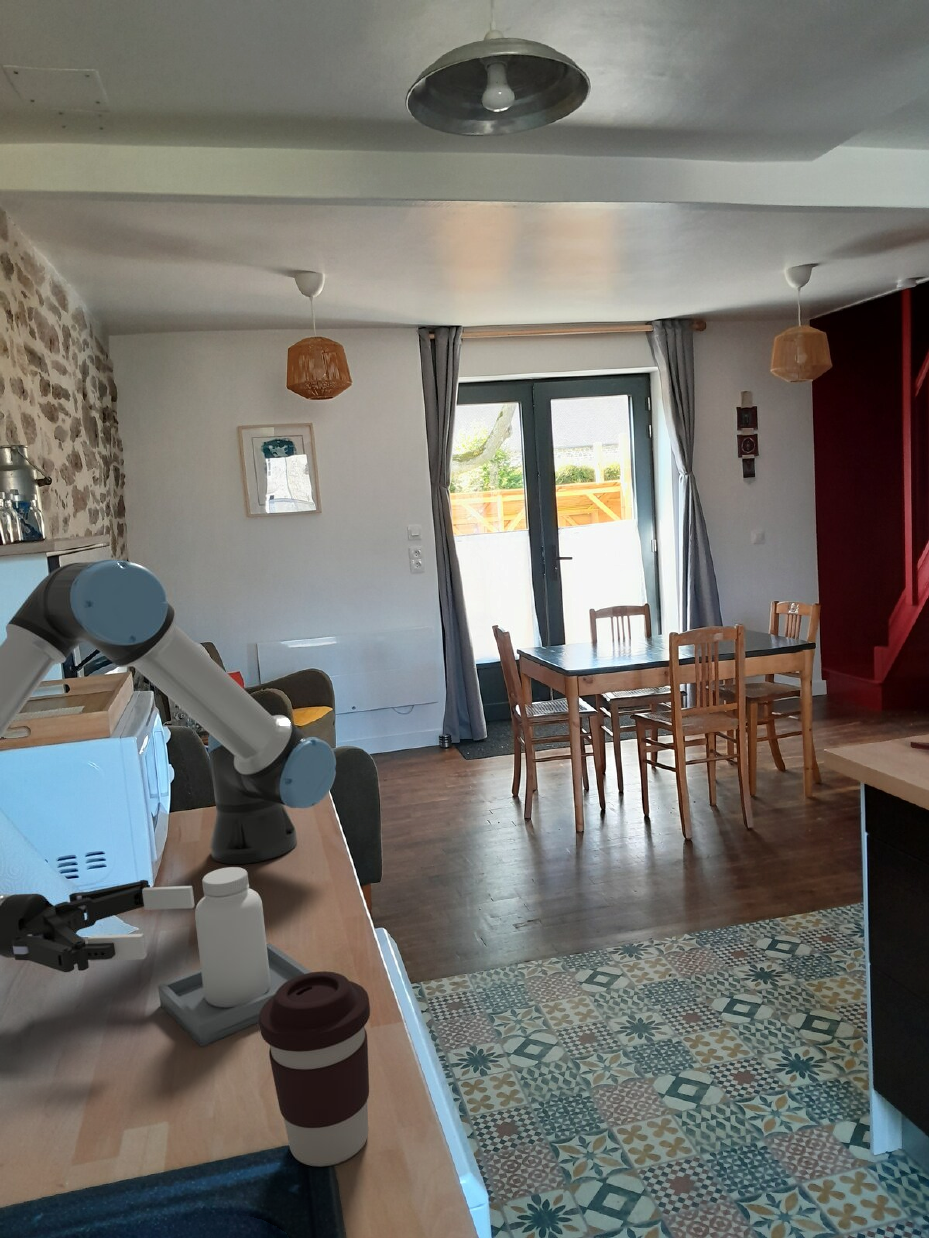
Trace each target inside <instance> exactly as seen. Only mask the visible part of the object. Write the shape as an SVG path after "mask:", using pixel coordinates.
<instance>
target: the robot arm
mask: <svg viewBox="0 0 929 1238" xmlns="http://www.w3.org/2000/svg"><path fill="white" fill-rule="evenodd" d="M166 597H167V593H166V590H165V588H164V586H163V583H161V581H160V579H159V578H158V577H157V575H155V574H154V573H153V572H152V571H151V570H149V569H148V568H147V567H145V566H142V565H141V564H138V563H135V562H131V561H127V560H122V559H114V558H113V559H103V560H99V561H90V562H89V561H88V562H73V563H67V564H65V565H62V566H60V567H58V568H56V569H55V570H53V571H51V572H50V573H48V575H46V576H45V578H43V579H42V580H41V581H40V582H39V583H38V585H37V586H36V587H35V588H34V589H33V591H31V593H30V594H29V595H28V597H27V598H26V599H25V600H24V602H23V603H22V604H21V606H20V607H19V608H18V610H17V611H16V613H15V614H14V615H13V616H12V618H11V619H10V620H9V621H8V623H7V625H6V626H5V631H6V638H5V640H3V642H2V643H1V645H0V739H1V738H2V737H3V736H4V734H5V733H6V731H7V730H8V728H9V726H11V724H12V723H13V721H14V720H15V719H16V717H17V716H18V714H19V713H20V712H21V711H22V709H23V708H24V706H25V705H26V704H27V702H28V701H29V700H30V698H31V697H32V695H33V694H34V692H35V691H36V690H37V689H38V687H40V684H41V683H42V681H43V680H44V679H45V678H46V676H47V675H48V673H50V671H51V669H52V668H53V667H54V666H55V665H57V664H58V665H59V664H62V663H63V664H64V663H65V662H66V661H67V660H68V657H69V656H70V655H71V654H72V653H73V652H74V650H75V649H76V648H77V647H79V646H80V645H81V644H83V643H84V642H88V643H89V644H90V645H92V646H93V647H94V648H95V649H96V650H97V651H99V652H100V653H101V654H102V655H103V656H104V657H106V659H108V660H109V661H111V663H113V665H114V666H116V667H118V668H126V667H133V668H134V669H135V670H137V671H138V672H139V673H140V674H141V675H143V677H145V678H146V679H147V680H148V681H150V683H151V684H153V685H154V686H155V687H156V688H157V689H159V690H160V691H161V692H162V693H163V694H164V695H166V696H167V698H168V699H170V700H171V701H172V702H173V703H174V704H175V705H177V706H178V707H179V708H180V709H181V710H182V711H183V712H185V714H187V715H188V716H189V717H190V718H191V719H192V720H194V722H196V724H198V725H200V726H201V727H202V728H203V730H205V731H206V732H207V733H208V735H209V736H208V738H207V739H208V740H207V742H208V743H207V744H208V747H207V748H208V751H207V754H208V755H209V762H210V769H211V778H212V785H213V792H214V793H213V794H214V801H215V807H216V809H215V810H216V815H215V819H214V826H213V829H212V830H213V831H212V834H211V840H210V851H211V852H210V853H211V858H212V859H213V860H214V861H216V862H218V863H221V864H228V865H229V864H230V865H242V864H243V865H244V864H252V863H258V862H263V861H266V860H267V861H268V860H270V859H274V858H278V857H280V856H283V855H284V854H287V853H288V852H290V851H291V850H293V849H294V848H295V847H296V845H297V844H298V837H297V830H296V828H295V826H294V823H293V822H292V819H291V818H290V815H289V813H288V810H287V809H286V807H288V808H291V809H307V808H308V809H309V808H312V807H315V806H317V804H319V803H321V801H323V800H324V799H325V798H326V796H327V795H328V794H329V792H330V791H331V789H332V787H333V784H334V782H335V778H336V774H337V772H336V765H337V760H336V755H335V752H334V750H333V748H332V747H331V746H330V744H329V743H328V742H326V741H325V740H323V739H320V738H319V737H316V736H311V737H310V736H308V735H306V734H305V733H304V732H303V731H302V730H301V729H300V728H299V727H298V726H297V725H296V724H294V722H293V721H292V720H291V719H289V718H288V717H287V716H285V715H283V714H275V715H271V714H270V713H269V712H268V711H267V710H266V709H265V708H264V707H263V706H262V705H261V704H260V703H259V702H258V701H257V700H256V699H254V698H253V697H252V696H251V694H250V693H248V692H247V691H246V690H245V688H243V687H242V686H241V685H240V684H239V683H237V681H236V680H235V679H233V678H232V677H231V675H230V674H228V673H227V672H226V670H224V669H223V668H222V666H220V665H219V664H218V663H217V662H215V660H213V658H211V657H210V656H209V655H208V654H207V652H205V651H204V650H203V649H202V648H201V647H200V646H199V645H198V644H197V643H196V642H195V641H193V639H192V638H190V636H188V635H187V634H186V633H185V632H184V631H183V630H182V629H181V628H180V627H179V626H178V625H177V624H176V621H177V620H176V619H177V612H176V609H175V608H174V607H173V605H171V604H169V602H167V599H166ZM149 883H150V882H149V880H147V879H142V880H139V881H134V882H130V883H125V884H120V885H115V886H109V887H105V888H104V887H103V888H100V889H95V890H89V891H81V892H80V891H79V892H72V893H70V894H69V895H68V897H69V901H62V902H59V903H56V904H55V905H54V904H53V903H51V902H50V901H49V900H48V899H47V897H46V896H44V895H42V894H40V893H20V894H18V893H17V894H7V893H6V894H4V893H3V894H0V958H7V959H10V958H12V959H13V958H14V960H15V961H30V962H32V963H36V964H38V965H42V966H44V967H47V968H51V969H54V970H57V971H59V972H63V973H70V972H73V971H74V970H75V965H77V970H78V971H79V972H81V971H85V970H87V969H89V968H90V965H89V964H90V963H89V961H92V962H93V961H94V962H95V961H97V962H98V961H124V960H125V961H126V960H127V961H128V960H129V961H132V960H145V958H147V956H148V955H147V954H148V953H147V947H146V939H145V934H144V933H128V934H127V933H126V934H125V933H123V934H98V935H97V934H95V935H90V936H88V938H87V942H86V940H85V939H84V938H83V937H81V936H80V935H78V934H77V933H78V931H80V930H83V929H86V928H89V927H93V926H94V925H96V922H97V921H101V920H104V919H107V918H109V917H113V916H117V915H121V914H124V913H127V912H130V911H135V910H137V909H140V908H144V910H145V911H148V910H149V911H151V910H152V911H153V910H154V911H156V910H178V909H193V908H194V907H195V898H194V890H193V886H192V885H179V886H175V885H174V886H155V887H154V886H153V887H151V886H150V885H149ZM85 914H86V917H85Z"/></svg>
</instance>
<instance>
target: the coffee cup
mask: <svg viewBox="0 0 929 1238" xmlns="http://www.w3.org/2000/svg"><path fill="white" fill-rule="evenodd" d="M369 997H370V996H369V994H368V992H367V990H365V988H364V987H363V986H362V985H360V984H358V983H356V982H354V981H352V980H349V979H348V978H347V977H346V976H345V975H343V974H341V973H338V972H334V971H327V970H324V971H311V973H307V974H303V975H300V976H297V977H295V978H293V979H291V980H289V981H287V982H285V983H284V984H283V985H282V986H281V987H279V989H278V990H277V992H276V993H275V995H274V996H273V997H271V998H270V999H269V1000H268V1001H267V1002H266V1003H265V1004H264V1005H263V1007H262V1009H261V1011H260V1014H259V1022H258V1023H259V1032H260V1035H261V1037H262V1039H263V1040H264V1041H265V1043H267V1045H269V1052H268V1055H269V1056H268V1057H269V1060H270V1066H271V1072H272V1076H273V1082H274V1087H275V1092H276V1096H277V1097H276V1098H277V1101H278V1107H279V1112H280V1114H281V1116H282V1117H283V1120H284V1124H285V1131H286V1135H287V1141H288V1146H289V1150H290V1152H291V1154H292V1155H293V1157H294V1158H295V1159H296V1160H297V1161H298V1162H300V1163H302V1164H304V1165H307V1166H311V1167H328V1166H334V1165H337V1164H340V1163H342V1162H345V1161H347V1160H349V1159H351V1158H352V1157H353V1156H355V1155H356V1154H358V1153H359V1151H360V1150H361V1149H363V1147H364V1145H365V1144H366V1141H367V1139H368V1136H369V1114H368V1113H369V1111H368V1110H369V1109H368V1099H369V1095H370V1078H369V1076H370V1075H369V1074H370V1073H369V1048H368V1047H369V1045H368V1043H369V1042H368V1041H369V1040H368V1033H367V1029H366V1027H365V1026H366V1024H367V1023H368V1021H369V1019H370V1015H371V1006H370V1005H371V1004H370V998H369Z"/></svg>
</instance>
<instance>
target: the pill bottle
mask: <svg viewBox="0 0 929 1238" xmlns="http://www.w3.org/2000/svg"><path fill="white" fill-rule="evenodd" d="M248 876H249V874H248V871H247V870H246V869H245V868H242V867H238V866H236V867H235V866H230V867H222V868H218V869H215V870H213V871H209V872H208V873H206V874H205V875H204V876H203V878H202V880H201V881H202V883H201V884H202V891H203V897H202V898H201V899H200V900H199V901H198V902H197V905H196V907H195V911H194V919H195V920H194V921H195V927H196V937H197V945H198V946H197V947H198V954H199V961H200V962H199V963H200V969H201V973H202V982H203V991H204V995H205V999H206V1000H207V1002H208V1003H209V1004H211V1005H213V1006H217V1007H236V1006H239V1005H241V1004H243V1003H246V1002H248V1001H251V1000H253V999H255V998H258V997H260V996H263V995H264V994H265V993H266V992H267V991H268V989H269V986H270V973H269V964H268V954H267V945H266V944H267V936H266V929H265V917H264V908H263V902H262V898H261V896H260V895H259V893H258V892H257V891H255V890H254V889H252V888H250V883H249V877H248Z"/></svg>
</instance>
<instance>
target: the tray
mask: <svg viewBox="0 0 929 1238" xmlns="http://www.w3.org/2000/svg"><path fill="white" fill-rule="evenodd" d="M266 945H267V954H268V964H269V973H270V986H269V989H268V991H267V992H266V993H265V994H264V995H263V996H260V997H258V998H255V999H253V1000H251V1001H248V1002H246V1003H243V1004H241V1005H239V1006H236V1007H217V1006H213V1005H211V1004H209V1003H208V1002H207V1000H206V999H205V995H204V991H203V982H202V973H201V968H200V969H197V970H195V971H193V972H190V973H188V974H185V975H182V976H179V977H177V978H175V979H172V980H169V981H167V982H164V983H161V984H159V985H158V986H157V988H158V989H157V990H158V996H159V1002H160V1003H159V1005H160V1006H161V1007H162V1009H164V1010H165V1011H166V1012H167V1014H169V1015H170V1016H171V1017H172V1018H173V1020H175V1021H176V1022H177V1023H178V1024H179V1025H180V1027H182V1029H183V1030H184V1031H186V1033H187V1034H188V1035H189V1036H190V1037H191V1038H192V1039H193V1041H195V1042H196V1043H197V1044H198V1045H199V1047H201V1048H202V1047H206V1046H208V1045H210V1044H212V1043H214V1042H216V1041H219V1040H221V1039H223V1038H225V1037H228V1036H231V1035H232V1034H235V1033H238V1032H239V1031H241V1030H245V1029H246V1028H249V1027H251V1026H253V1025H255V1024H257V1023H259V1014H260V1011H261V1009H262V1007H263V1005H264V1004H265V1003H266V1002H267V1001H268V1000H269V999H270V998H271V997H273V996H274V995H275V993H276V992H277V990H278V989H279V987H281V986H282V985H283V984H284V983H285V982H287V981H289V980H291V979H293V978H295V977H297V976H300V975H303V974H307V973H311V972H312V971H311V970H309V969H308V968H306V967H305V966H303V965H302V964H301V963H299V962H298V961H296V960H295V959H294V958H292V957H290V956H289V955H288V954H287V953H285V952H284V951H282V950H280V948H277V946H275V945H274V944H272V943H271V942H269V943H266Z"/></svg>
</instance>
